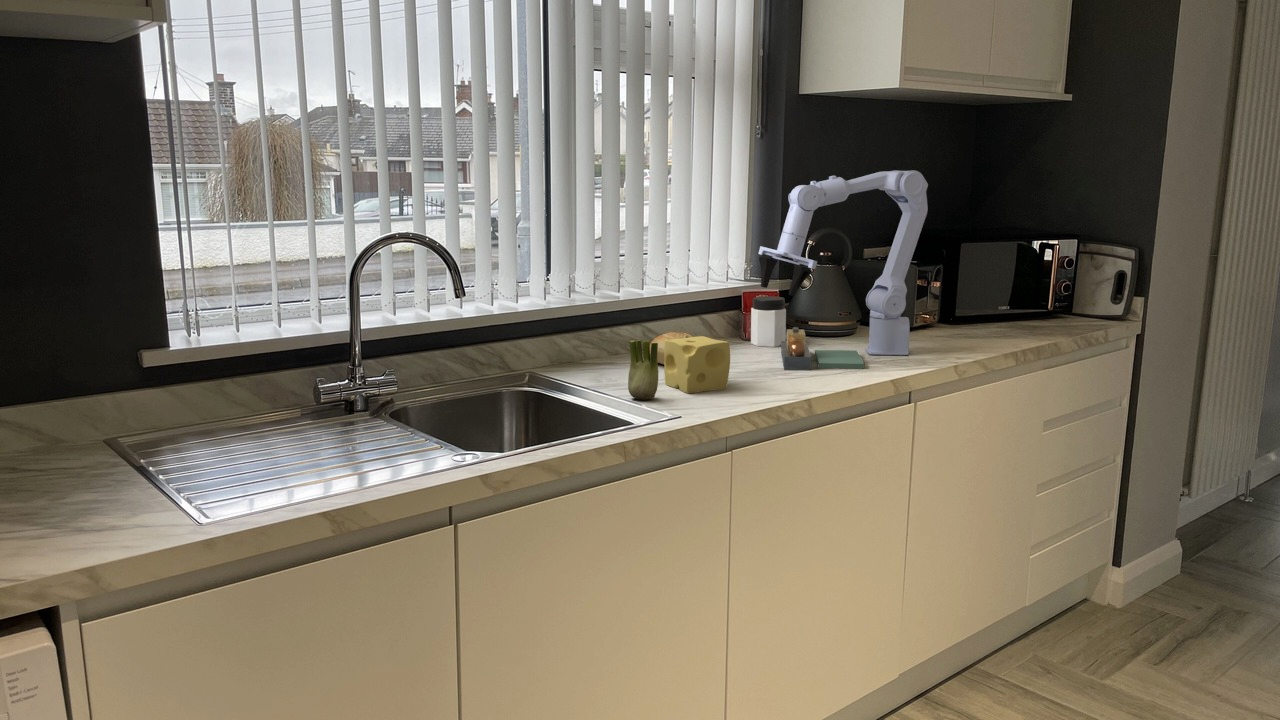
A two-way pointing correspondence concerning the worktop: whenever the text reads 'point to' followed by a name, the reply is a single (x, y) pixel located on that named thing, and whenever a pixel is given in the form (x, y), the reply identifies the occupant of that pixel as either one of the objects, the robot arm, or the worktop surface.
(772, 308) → the jar
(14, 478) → the worktop surface
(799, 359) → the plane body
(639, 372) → the fennel bulb
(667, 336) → the bread roll
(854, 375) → the worktop surface
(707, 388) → the cheese
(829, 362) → the mat
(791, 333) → the tan block
